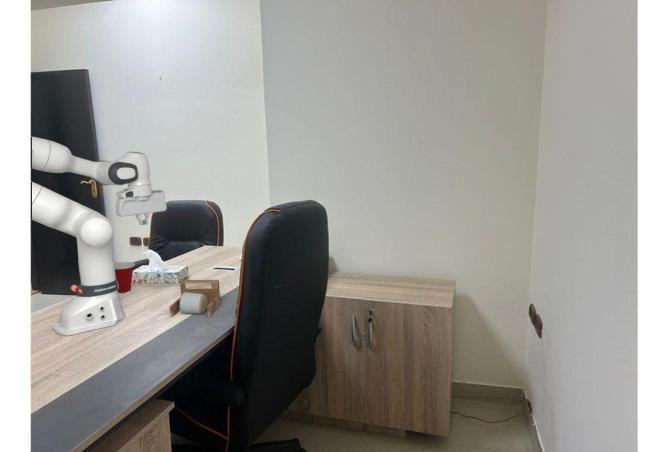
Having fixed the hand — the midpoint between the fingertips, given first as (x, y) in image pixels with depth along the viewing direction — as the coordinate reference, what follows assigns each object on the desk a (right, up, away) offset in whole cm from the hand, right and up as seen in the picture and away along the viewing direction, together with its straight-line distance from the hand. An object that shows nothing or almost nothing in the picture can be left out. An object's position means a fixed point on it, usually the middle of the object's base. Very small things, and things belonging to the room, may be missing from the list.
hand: (143, 224), depth 188 cm
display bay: (+28, -32, -20) cm, 47 cm away
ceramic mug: (+28, -33, -20) cm, 48 cm away
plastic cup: (-11, -29, +7) cm, 32 cm away
